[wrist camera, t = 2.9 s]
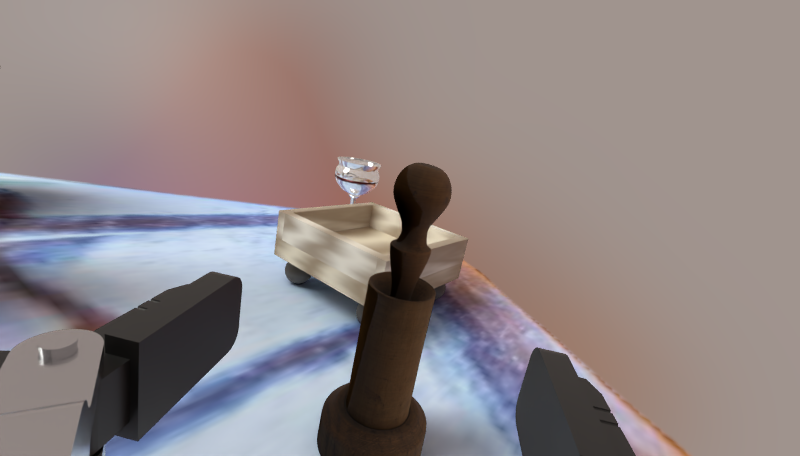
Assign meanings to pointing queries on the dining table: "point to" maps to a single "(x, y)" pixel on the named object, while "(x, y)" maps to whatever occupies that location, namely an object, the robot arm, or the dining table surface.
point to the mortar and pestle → (390, 336)
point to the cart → (357, 248)
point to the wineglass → (357, 176)
